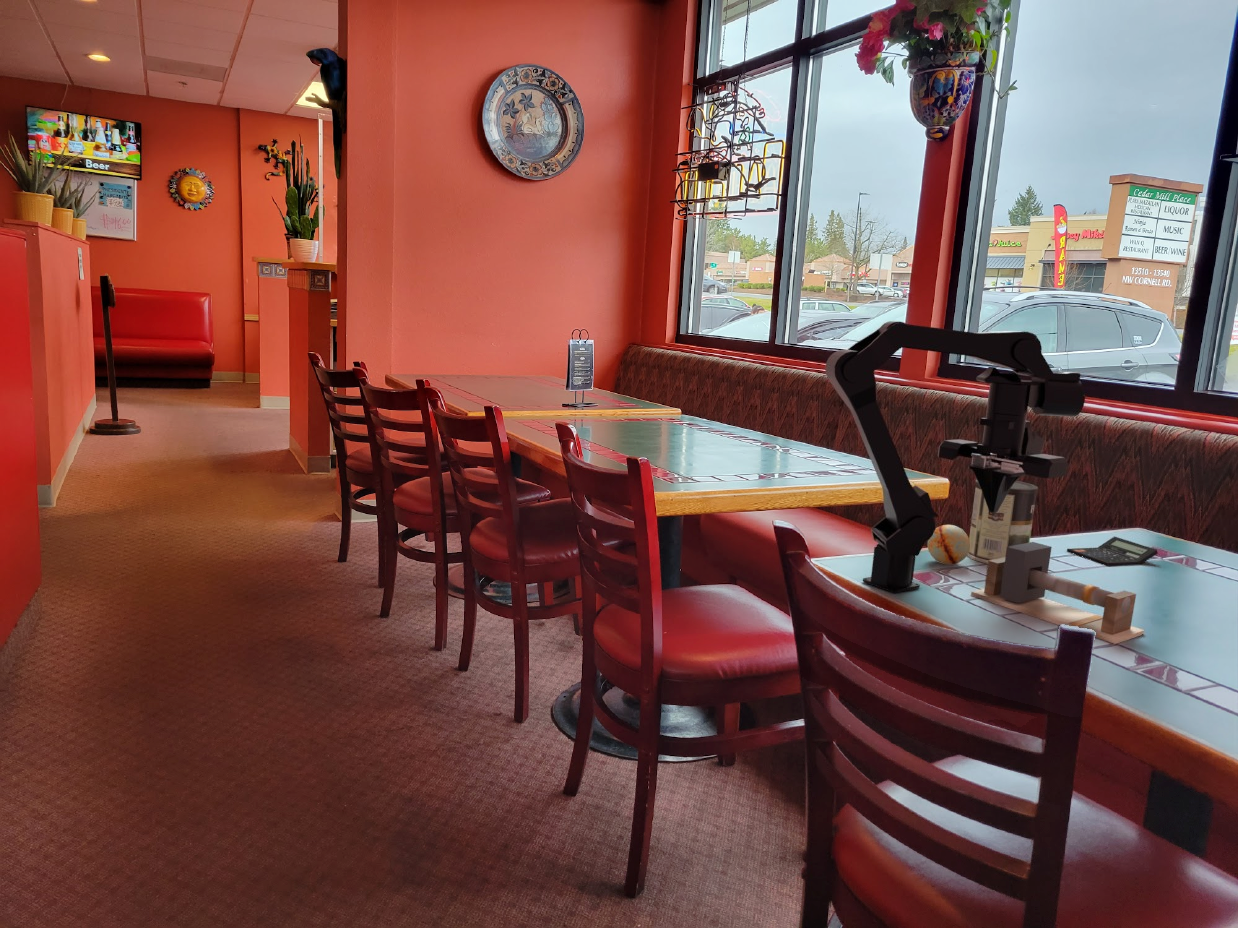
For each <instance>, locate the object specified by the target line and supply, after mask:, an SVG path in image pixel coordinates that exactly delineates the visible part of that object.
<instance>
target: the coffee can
mask: <svg viewBox="0 0 1238 928" xmlns="http://www.w3.org/2000/svg"><path fill="white" fill-rule="evenodd" d="M1038 489H1039V487H1038V486H1036V485H1035V484H1032V483H1029V482H1025V481H1019V480H1016V481H1015V483H1014V484H1013V485H1012V487H1011V488H1010V490H1009V492H1008V493H1007V495H1006V497H1005V499H1004V501H1003V503H1002V504H1001V506H1000V508H999V510H998V511H997V512H995V513H993V512H990V511H989V510H988V507H987V504H986V501H985V498H984V495H983V492H982V490H981V487H980V485H979V482H978V480H977V479H975V491H974V497H973V498H974V499H973V507H972V515H971V521H970V530H969V536H968V538H969V541H970V550H969V553H968V555H967V556H966V557H968V558H969V559H971V558H972V560H974V561H976V562H980V563H984V564H987V565H988V561H989V560H994V559H999V558H1004V557H1006V551H1007V547H1008V546H1014V545H1019V544H1024V543H1030V541H1031V534H1032V528H1033V519H1034V514H1035V513H1034V512H1035V508H1036V507H1035V505H1036V500H1037V492H1038V491H1039V490H1038Z"/></svg>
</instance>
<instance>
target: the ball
mask: <svg viewBox="0 0 1238 928" xmlns="http://www.w3.org/2000/svg"><path fill="white" fill-rule="evenodd" d="M926 545H927V551H928V553H929V555H930V556H931V557H932V558H933V559H934V560H935V561H936V562H938V563H940V564H943V565H947V566H948V565H949V566H950V565H952V566H953V565H956V564H959V563H960V562H962V561H964V560H965V559H966V557H968V556H967V555H968V553H969V550H970V541H969V536H968V534H967V533H966V532H965V531H964V529H963V528H961V527H959V526H957V525H953V524H943V525H940V526H936V530H935V531H934V533H933V536H932V537H931V538H930V539H929V540H928V541H927V544H926Z"/></svg>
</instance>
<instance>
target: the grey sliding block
mask: <svg viewBox="0 0 1238 928" xmlns="http://www.w3.org/2000/svg"><path fill="white" fill-rule="evenodd" d="M1051 553H1052V546H1051V545H1047V544H1042V543H1040V542H1039V543H1038V542H1035V541H1031V542H1030V543H1024V544H1019V545H1014V546H1008V547H1007V551H1006V558H1005V565H1004V572H1003V580H1002V587H1001V594H1000V598H1003V599H1006V600H1009V601H1012V602H1015V603H1022V602H1026V601H1030V600H1034V599H1038V598H1045V596H1046V594H1045V593H1046V590H1045V589H1042V588H1039V587H1035V586H1032V585H1029V584H1028V579H1029V572H1030V569H1034V570H1037V571H1041V572H1044V573H1048V574H1049V567H1050V560H1051V555H1052V554H1051Z"/></svg>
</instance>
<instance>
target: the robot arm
mask: <svg viewBox="0 0 1238 928" xmlns="http://www.w3.org/2000/svg"><path fill="white" fill-rule="evenodd" d="M901 349H911V350H920V351H928V352H935V353H942V354H951V355H957V356H958V355H959V356H966V357H969V358H972V359H976V360H978V361H980V362H981V361H982V362H984V363H987V364H990V365H993V366H988V367H987V368H986V370H985V371H984V372H982V373H980V374H979V375H977V376H976V377H975V379H976V381H978V382H982V383H986V384H989V387H988V388H989V389H988V396H987V405H986V410H985V411H986V412H985V417H981V418H980V419H979V425H981V426H984V427H983V435H982V443H979V441H978V442H977V441H972V440H971V441H970V440H966V439H947V440H946V439H945V440H943V441H942V442H941V443H940V445H939V446H938V451H937V457H938V458H940V459H944V460H951V461H955V460H956V459H958V458H959V457H962V458H963V457H964V458H969V459H971V464H969V465H968V466H967V467H968V469H969V470H971V471H972V472H973V474H974V477H975V478H976V480H978V482H979V485H980V487H981V490H982V492H983V495H984V498H985V501H986V504H987V507H988V510H989V511H990V512H993V513H995V512H997V511H998V510H999V508H1000V506H1001V504H1002V503H1003V501H1004V499H1005V497H1006V495H1007V493H1008V492H1009V490H1010V488H1011V487H1012V485H1013V484H1014V483H1015V481H1018V479H1019V478H1021V477H1022V476H1023V477H1024V476H1031V477H1037V478H1042V479H1054V478H1063V477H1067V476H1068V471H1069V463H1068V461H1067V459H1066V457H1064V456H1058V455H1054V454H1053V455H1052V454H1046V453H1042V452H1043V448H1044V445H1045V443H1046V440H1045V439H1044V438H1042V437H1040V436H1039V435H1038V434H1036V433H1034V432H1032V431H1031V430H1032V429H1031V428H1032V424H1031V423H1032V422H1031V421H1030V420H1027V417H1028V416H1027V414H1028V410H1029V409H1028V408H1030V409H1031V410H1032V412H1033V414H1035V415H1037V416H1053V417H1054V416H1055V417H1056V416H1057V417H1070V418H1071V417H1073V418H1075V417H1077V416H1079V414H1081V412H1082V410H1083V408H1084V405H1085V402H1086V395H1085V391H1084V387H1083V384H1082V382H1081V381H1080V379H1081V373H1080V372H1074V371H1064V372H1063V371H1062V372H1054V371H1053V370H1052V369H1051V366H1050V365H1049V363H1048V362H1047V360H1046V358H1045V356H1044V354H1043V353H1042V349H1043V348H1042V343H1041V341H1040V339H1039V338H1038V336H1037V335H1036V334H1035V333H1034V332H1029V331H1022V330H1021V331H1019V330H1018V331H1017V330H995V331H993V330H992V331H980V332H979V331H978V332H971V331H963V330H955V329H948V328H940V327H932V326H926V325H925V326H924V325H917V324H908V323H906V322H904V321H899V320H898V321H897V320H896V321H895V320H893V321H892V320H891V321H887V322H884V323H883V324H882V325H881V326H880V327H879V328H876V330H875V331H873V332H872V333H870V334H868V335H867V336H865V337H863V338H862V339H860V340H859V341H857V342H855V343H854V344H852V346H850V347H849V348H847V349H840V350H837V351H835V352H833V353H832V354H831V355H830V356H829V357H828V359H827V360H826V363H825V364H824V370H825V375H826V378H827V380H829V382H830V383H831V385H832V387H833V389H834V390H835V391H836V393H837V394H838V396H839V398H841V399H842V401H843V402H844V403H845V405H846V406H847V408H848V409H849V411H850V413H851V416H852V417H853V419H854V422H855V423H854V424H855V425H856V427H857V430H858V432H859V434H860V436H861V439H862V441H863V445H864V446H865V449H866V451H867V454H868V456H869V459H870V462H871V464H872V466H873V469H874V471H875V473H876V476H877V478H878V481H879V483H880V485H881V488H882V495H883V508H884V513H885V516H884V517H883V518H881V519H880V520H879V521H878V522H877V523H876V524H874V525H873V526H871V528H870V531H871V534H872V539H873V541H875V542H876V543H877V544H876V546H874V548H873V557H872V566H871V575H870V576H869V577H863V578H862V582H863V583H866V584H869V585H871V586H874V587H877V588H880V589H882V590H884V591H888V592H891V593H895V594H896V593H901V592H906V591H910V590H915V589H920V585H921V584H919V583H916V582H914V575H915V572H914V571H915V564H916V557H918V556H919V555H920V553H921V551H922V549H923V547H924V545H925V544H926V542H928V540H929V539H930V538H931V537H932V536H933V533H934V531H935V530H936V528H937V522H936V519H935V518H938V517H939V515H938V514H937V513H936V512H935V510H934V508H933V505H932V502H931V500H932V499H931V497H930V494H929V492H927V491H926V490H924V489H922V488H921V487H920V486H918V485H914V486H912V484H911V483H910V480H909V478H908V474H907V472H906V469H905V468H904V465H903V463H902V461H901V457H900V455H899V453H898V449H897V448H896V445H895V442H894V440H893V438H892V435H891V433H890V431H889V428H888V425H887V423H886V421H885V418H884V416H883V413H882V411H881V409H880V406H879V404H878V393H877V392H878V391H877V381H876V377H875V376H876V375H875V371H877V370H878V369H880V367H882V366H883V365H884V364H885V363H886V362H887V361H888V360H889V359H890V358H891V357H893V356H894V355H895V353H897V352H898V351H899V350H901ZM994 366H996V367H994ZM997 367H998V368H999V367H1000V368H1004V369H1010V370H1012V371H1013V372H1001V371H999V370H998V369H997ZM1020 375H1021V376H1026V377H1031V380H1024V379H1021V377H1020Z"/></svg>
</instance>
